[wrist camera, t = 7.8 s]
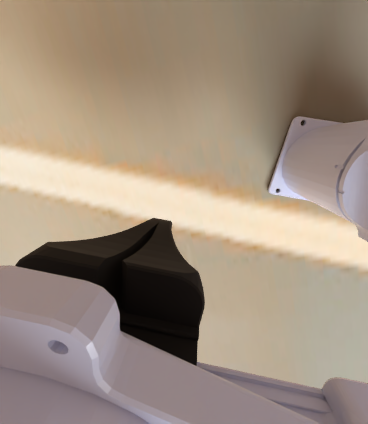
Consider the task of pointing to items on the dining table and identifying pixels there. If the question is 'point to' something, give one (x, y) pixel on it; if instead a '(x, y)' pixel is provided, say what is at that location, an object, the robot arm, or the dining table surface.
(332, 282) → the dining table surface
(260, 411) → the robot arm
